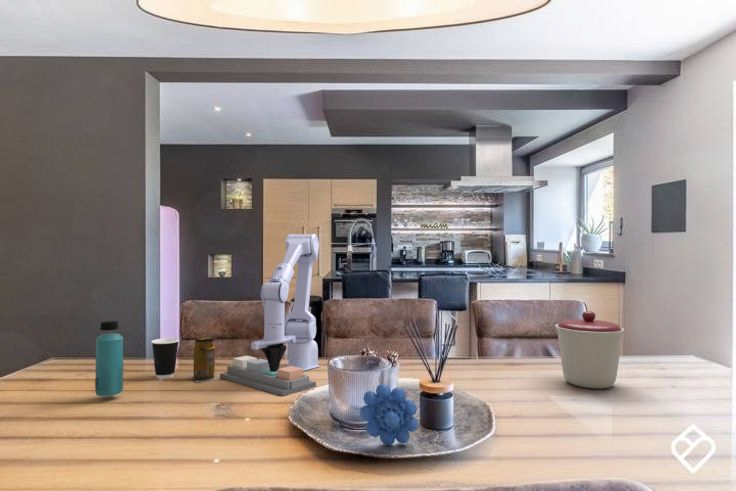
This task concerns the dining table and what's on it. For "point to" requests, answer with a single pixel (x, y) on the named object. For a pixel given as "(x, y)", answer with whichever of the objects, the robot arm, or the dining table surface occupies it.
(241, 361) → the cream key
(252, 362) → the slate key
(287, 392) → the keypad
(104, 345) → the beverage bottle
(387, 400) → the blue flower
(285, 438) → the dining table surface
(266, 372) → the teal key
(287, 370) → the terracotta key
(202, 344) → the condiment
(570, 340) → the canister
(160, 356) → the dixie cup
